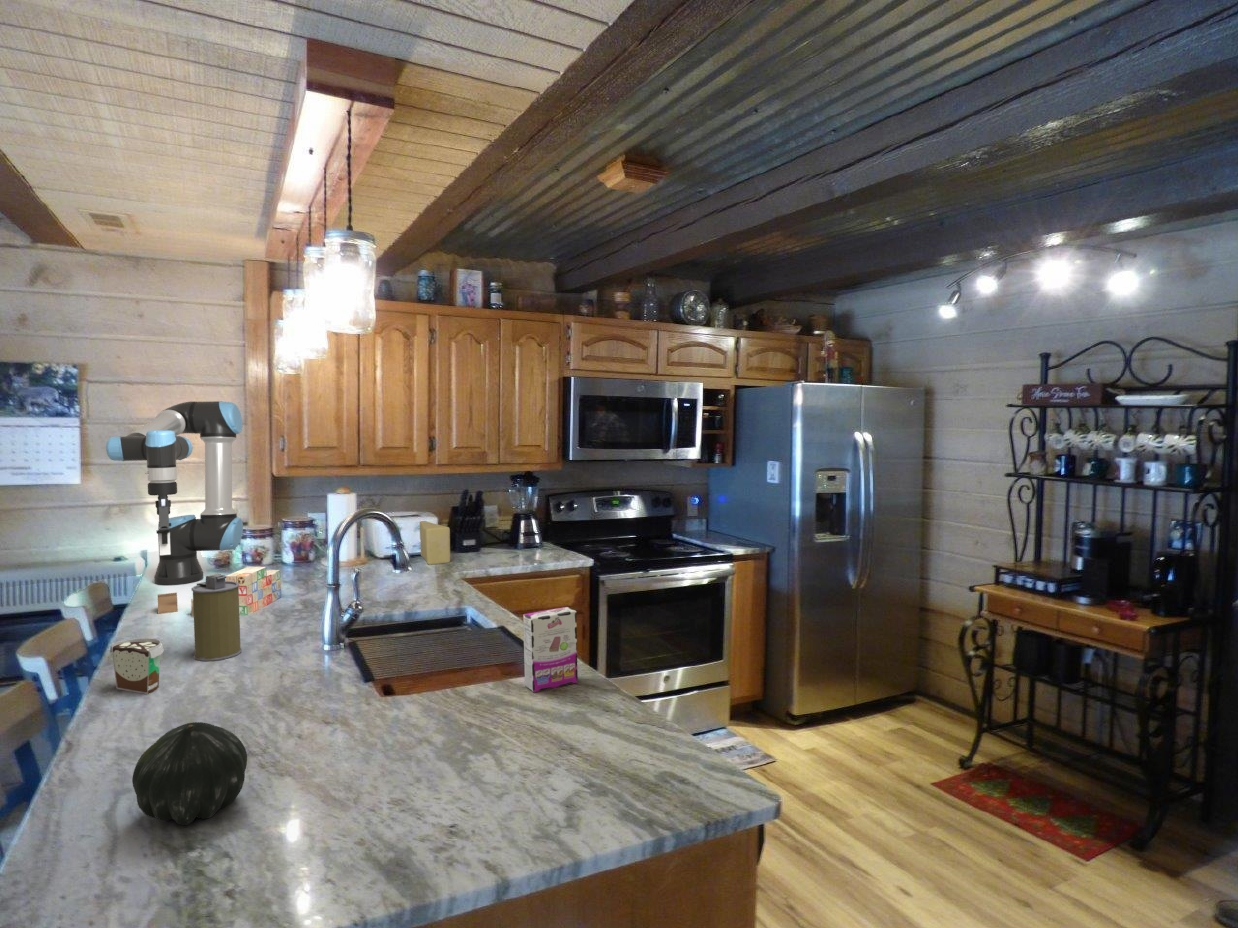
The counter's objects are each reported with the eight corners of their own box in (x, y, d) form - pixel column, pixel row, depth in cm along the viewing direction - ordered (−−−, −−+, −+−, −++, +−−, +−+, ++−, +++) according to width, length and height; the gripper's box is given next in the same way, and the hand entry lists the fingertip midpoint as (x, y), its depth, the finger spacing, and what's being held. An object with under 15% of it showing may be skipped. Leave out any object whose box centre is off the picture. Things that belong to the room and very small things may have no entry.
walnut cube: (158, 610, 223) (157, 594, 223) (177, 608, 226) (176, 592, 225) (158, 614, 219) (157, 597, 219) (177, 612, 222) (177, 595, 221)
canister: (251, 651, 185) (248, 573, 183) (213, 663, 175) (209, 581, 174) (222, 645, 189) (219, 569, 188) (183, 657, 180) (180, 577, 178)
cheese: (411, 556, 308) (410, 521, 307) (433, 554, 314) (432, 519, 313) (427, 565, 290) (426, 528, 289) (451, 562, 295) (450, 526, 294)
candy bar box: (567, 676, 167) (567, 605, 166) (578, 683, 162) (578, 610, 161) (522, 686, 161) (522, 612, 160) (532, 693, 157) (532, 618, 155)
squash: (191, 743, 121) (146, 701, 110) (277, 750, 119) (240, 708, 109) (144, 834, 111) (89, 798, 100) (237, 844, 109) (192, 807, 99)
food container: (178, 684, 162) (176, 640, 161) (153, 694, 156) (150, 649, 155) (138, 678, 166) (136, 635, 165) (111, 687, 160) (109, 643, 159)
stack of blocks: (262, 597, 239) (261, 560, 238) (281, 597, 239) (280, 560, 238) (227, 615, 218) (225, 575, 217) (248, 615, 218) (246, 575, 217)
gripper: (147, 479, 228) (150, 546, 229) (147, 485, 207) (149, 559, 208) (176, 478, 232) (178, 544, 233) (177, 483, 211) (180, 556, 212)
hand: (165, 551), depth 221 cm, fingers open, 13 cm apart
